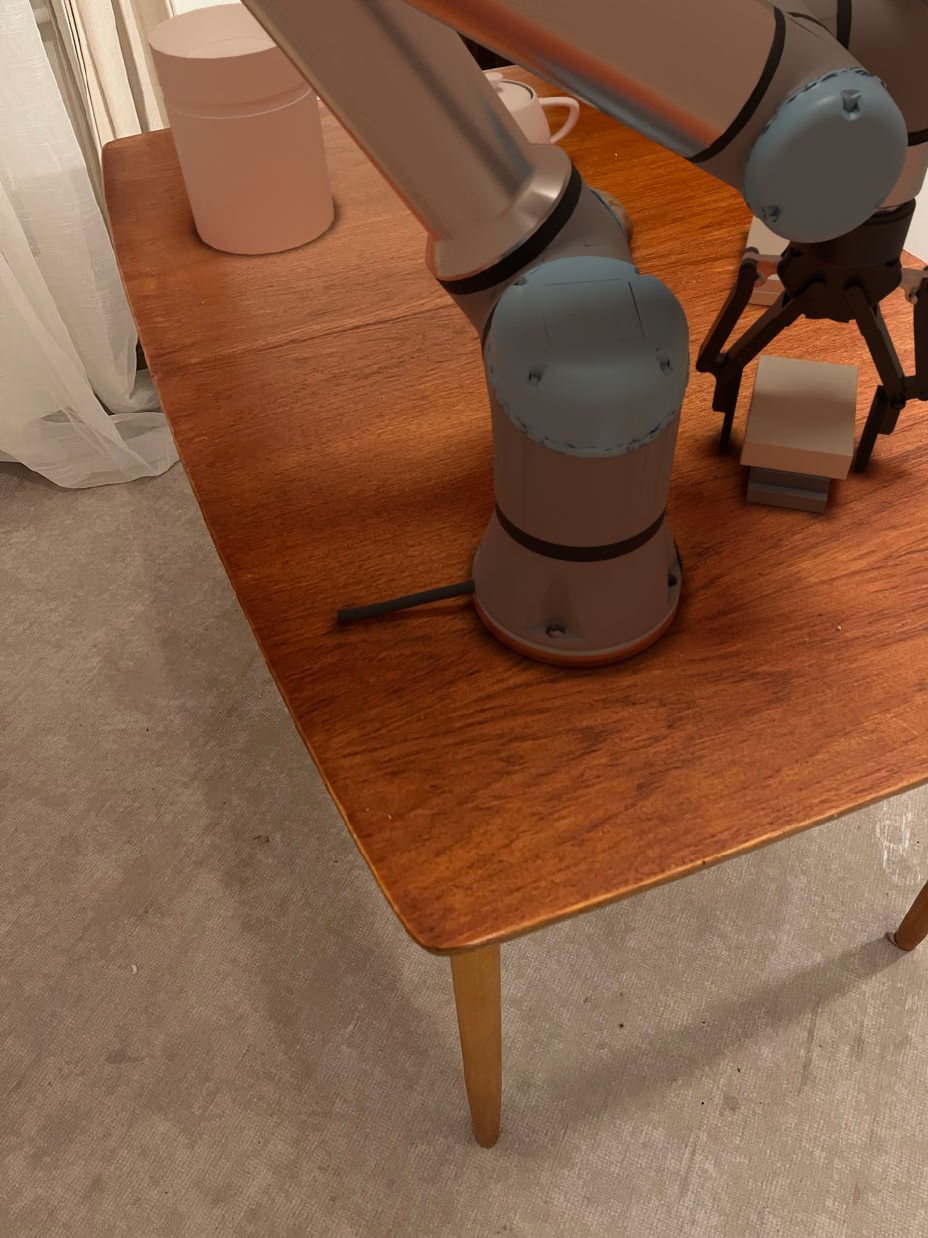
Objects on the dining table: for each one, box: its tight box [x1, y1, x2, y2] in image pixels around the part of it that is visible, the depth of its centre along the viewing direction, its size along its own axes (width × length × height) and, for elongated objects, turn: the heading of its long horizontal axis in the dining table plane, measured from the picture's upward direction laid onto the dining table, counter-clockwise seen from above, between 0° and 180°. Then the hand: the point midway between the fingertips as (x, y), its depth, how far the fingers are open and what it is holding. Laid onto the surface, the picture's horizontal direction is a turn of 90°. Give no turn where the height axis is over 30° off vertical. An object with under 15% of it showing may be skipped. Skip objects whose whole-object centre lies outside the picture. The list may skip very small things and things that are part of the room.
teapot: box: [484, 71, 580, 145], centre depth 116 cm, size 22×14×11 cm, turn 95°
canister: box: [147, 2, 335, 256], centre depth 107 cm, size 16×16×20 cm
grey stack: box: [745, 466, 831, 514], centre depth 81 cm, size 14×6×3 cm, turn 163°
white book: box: [739, 354, 859, 481], centre depth 79 cm, size 12×8×2 cm, turn 163°
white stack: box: [744, 214, 790, 307], centre depth 101 cm, size 14×6×3 cm, turn 163°
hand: (791, 450), depth 82 cm, fingers open, 10 cm apart
